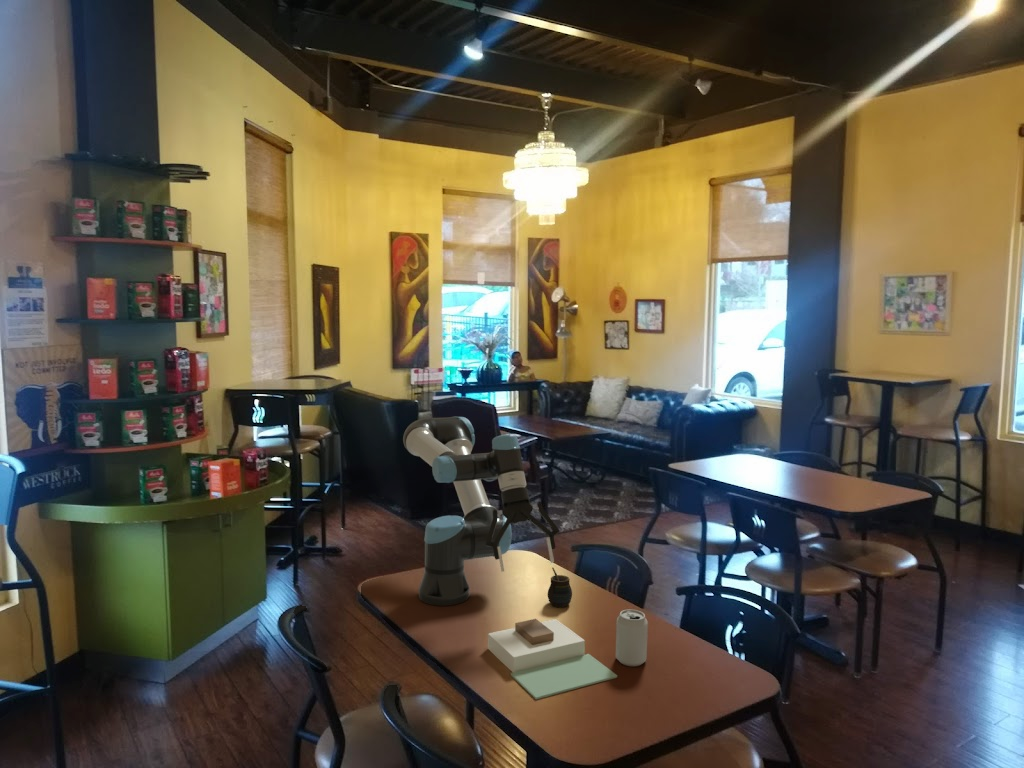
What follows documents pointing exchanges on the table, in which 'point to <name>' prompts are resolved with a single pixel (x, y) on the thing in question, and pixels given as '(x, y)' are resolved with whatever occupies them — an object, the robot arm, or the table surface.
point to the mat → (562, 676)
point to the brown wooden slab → (534, 631)
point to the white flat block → (535, 647)
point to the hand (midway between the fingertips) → (527, 566)
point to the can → (631, 637)
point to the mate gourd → (559, 590)
